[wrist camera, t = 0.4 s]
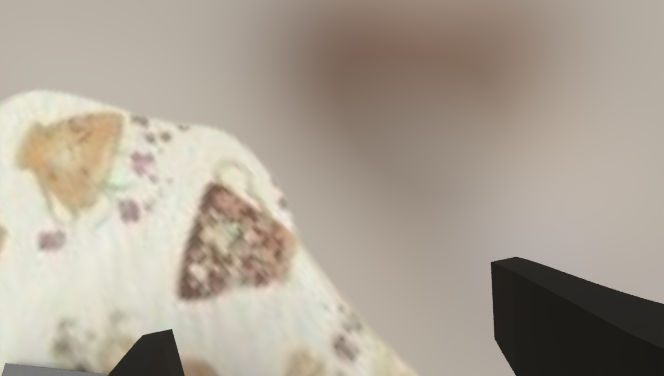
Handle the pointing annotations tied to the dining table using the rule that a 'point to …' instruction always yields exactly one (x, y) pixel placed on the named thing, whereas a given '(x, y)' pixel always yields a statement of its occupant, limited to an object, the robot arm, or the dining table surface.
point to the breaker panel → (41, 371)
